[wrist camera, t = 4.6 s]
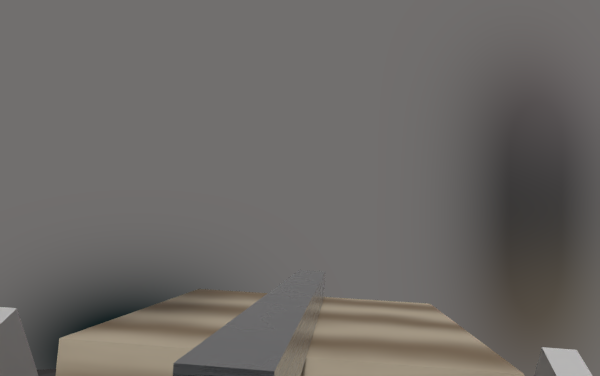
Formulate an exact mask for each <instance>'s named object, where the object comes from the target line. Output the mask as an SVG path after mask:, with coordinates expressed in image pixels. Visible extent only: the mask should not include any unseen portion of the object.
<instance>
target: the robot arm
mask: <svg viewBox="0 0 600 376" xmlns="http://www.w3.org/2000/svg"><path fill="white" fill-rule="evenodd" d="M0 376H38V373H37V370H36V367H35V364H34V360H33V357H32V354H31V351H30V348H29V345H28V342H27V339H26V335H25V332H24V329H23V326H22V323H21V320H20V317H19V314H18V310H17V308H6V307H0ZM534 376H592V374H591V373H590V371H589V369H588V368H587V366H586V364H585V363H584V361H583V360H582V358H581V356H580V355H579V353H578V352H577V350H569V349H556V348H543V347H542V349H541V353H540V356H539V360H538V363H537V367H536V371H535V374H534Z"/></svg>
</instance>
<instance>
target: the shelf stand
mask: <svg viewBox="0 0 600 376" xmlns="http://www.w3.org/2000/svg"><path fill="white" fill-rule="evenodd" d="M266 294H268V293H253V292H238V291H221V290H206V289H198V290H195V291H192V292H189V293H186V294H184V295H181V296H178V297H175V298H172V299H169V300H167V301H164V302H161V303H158V304H155V305H152V306H150V307H147V308H144V309H141V310H138V311H135V312H133V313H130V314H127V315H124V316H122V317H119V318H116V319H113V320H110V321H107V322H104V323H102V324H99V325H96V326H93V327H90V328H88V329H85V330H82V331H79V332H76V333H73V334H71V335H68V336H65V337H62V338H60V339H59V349H58V357H57V368H56V376H173V364H174V362H176V361H177V360H178V359H180V358H181V357H182V356H184V355H185V354H187V353H188V352H189V351H191V350H192V349H193V348H195V347H196V346H197V345H199V344H200V343H201V342H203V341H204V340H205V339H207V338H208V337H209V336H211V335H212V334H214V333H215V332H216V331H218V330H219V329H220V328H222V327H223V326H224V325H226V324H227V323H228V322H230V321H231V320H232V319H234V318H235V317H236V316H238V315H239V314H241V313H242V312H243V311H245V310H246V309H247V308H249V307H250V306H251V305H253V304H254V303H255V302H257V301H258V300H259V299H261V298H262V297H263V296H265V295H266ZM301 376H524V374H523V373H522V372H521V371H519V370H518V369H517V368H515V367H514V366H513V365H511V364H510V363H509V362H507V361H506V360H505V359H503V358H502V357H501V356H499V355H498V354H497V353H495V352H494V351H493V350H491V349H490V348H489V347H487V346H486V345H484V344H483V343H482V342H481V341H479V340H478V339H477V338H475V337H474V336H473V335H471V334H470V333H469V332H467V331H466V330H464V329H463V328H462V327H461V326H459V325H458V324H456V323H455V322H454V321H452V320H451V319H450V318H448V317H447V316H446V315H444V314H443V313H442V312H440V311H439V310H438V309H436V308H435V307H434V306H432V305H431V304H426V303H411V302H395V301H379V300H363V299H348V298H332V297H324V300H323V303H322V307H321V310H320V313H319V317H318V320H317V323H316V327H315V330H314V333H313V337H312V340H311V343H310V346H309V350H308V353H307V356H306V360H305V363H304V366H303V370H302V373H301Z"/></svg>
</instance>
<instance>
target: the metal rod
mask: <svg viewBox="0 0 600 376" xmlns="http://www.w3.org/2000/svg"><path fill="white" fill-rule="evenodd" d="M324 286H325V272H320V271H303V270H299V271H297V272H296V273H295V274H293V275H292V276H291V277H289V278H288V279H286V280H285V281H284V282H282V283H281V284H280V285H279V286H277V287H276V288H274V289H273V290H272V291H270V292H269V293H268V294H266V295H265V296H263V297H262V298H261V299H259V300H258V301H257V302H255V303H254V304H253V305H251V306H250V307H249V308H247V309H246V310H245V311H243V312H242V313H241V314H239V315H238V316H236V317H235V318H234V319H232V320H231V321H230V322H228V323H227V324H226V325H224V326H223V327H222V328H220V329H219V330H218V331H216V332H215V333H214V334H212V335H211V336H209V337H208V338H207V339H205V340H204V341H203V342H201V343H200V344H199V345H197V346H196V347H195V348H193V349H192V350H191V351H189V352H188V353H187V354H185V355H184V356H182V357H181V358H180V359H178V360H177V361H176V362H174V364H173V376H301V373H302V370H303V366H304V363H305V360H306V356H307V353H308V350H309V346H310V343H311V340H312V337H313V333H314V330H315V327H316V323H317V320H318V317H319V313H320V310H321V307H322V303H323V300H324Z"/></svg>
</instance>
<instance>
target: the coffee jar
mask: <svg viewBox="0 0 600 376" xmlns="http://www.w3.org/2000/svg"><path fill="white" fill-rule="evenodd" d="M37 373H38V376H56V369H48V370H37Z"/></svg>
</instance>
